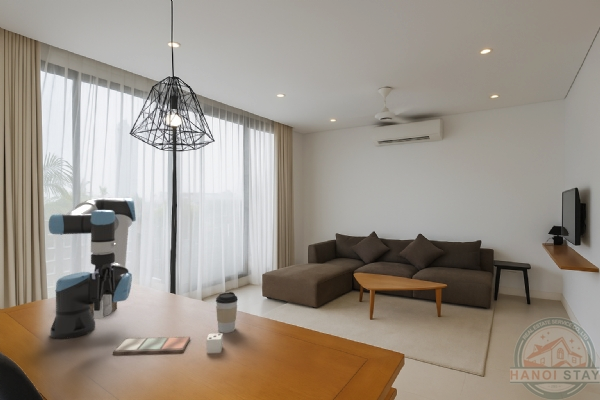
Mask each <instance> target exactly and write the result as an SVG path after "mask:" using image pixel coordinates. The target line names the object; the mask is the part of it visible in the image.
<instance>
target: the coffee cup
mask: <svg viewBox="0 0 600 400" xmlns="http://www.w3.org/2000/svg"><path fill="white" fill-rule="evenodd" d="M215 302H216V303H215V304H216V307H215V309H216V320H217V321H216V322H217V331H218V332H219V333H223V334H229V333H232V332H234V331H235V330H236V320H237V310H238V296H237V295H235V292H232V291H229V292H222V293H220V294H218V295H217V296H216V297H215Z"/></svg>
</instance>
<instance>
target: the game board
mask: <svg viewBox="0 0 600 400" xmlns="http://www.w3.org/2000/svg"><path fill="white" fill-rule="evenodd" d="M190 340H191V336H167V337H165V336H163V337H162V336H161V337H131V338H130V337H127V338H125V339H123V341H122V342H121V343H120V344H119V345H117V347H116V348H115V349H114V350H113V351H112V355H114V356H117V355H146V354H147V355H148V354H152V355H153V354H177V353H178V354H181V353H184V351H185V349H186V347H188V346H187V345H188V344H189V342H190Z"/></svg>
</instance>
